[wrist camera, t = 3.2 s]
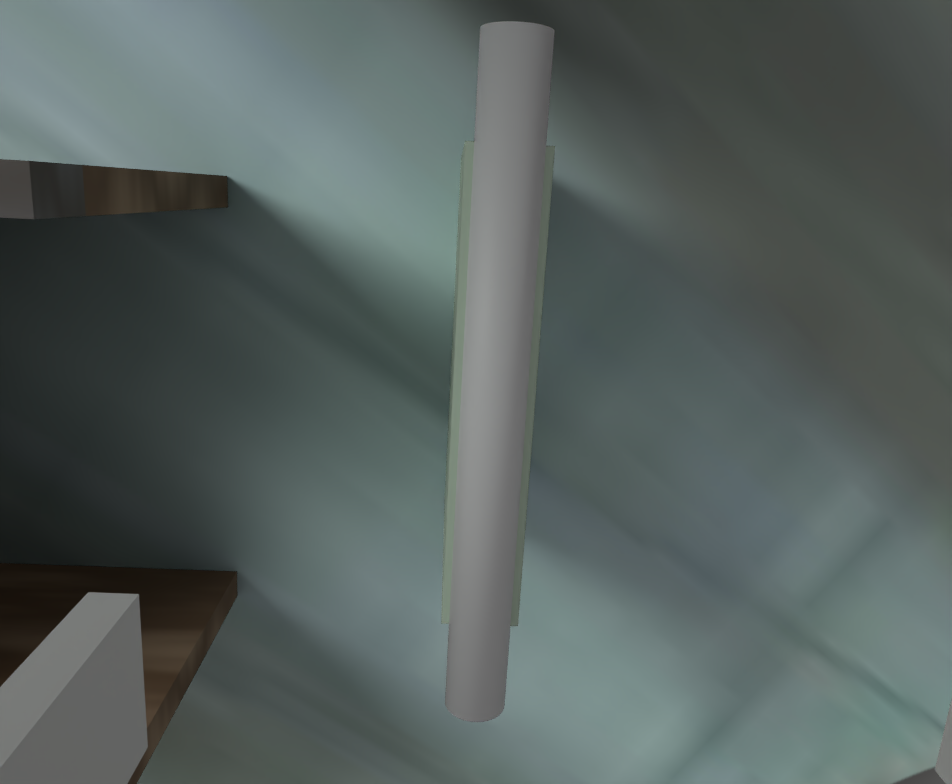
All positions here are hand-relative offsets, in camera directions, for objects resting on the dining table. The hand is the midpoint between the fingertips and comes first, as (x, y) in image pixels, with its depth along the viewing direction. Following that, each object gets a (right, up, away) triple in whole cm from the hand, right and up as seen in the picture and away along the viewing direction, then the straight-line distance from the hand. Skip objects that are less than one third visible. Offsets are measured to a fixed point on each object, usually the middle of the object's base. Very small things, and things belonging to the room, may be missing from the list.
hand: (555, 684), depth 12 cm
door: (-1, +7, +28) cm, 29 cm away
